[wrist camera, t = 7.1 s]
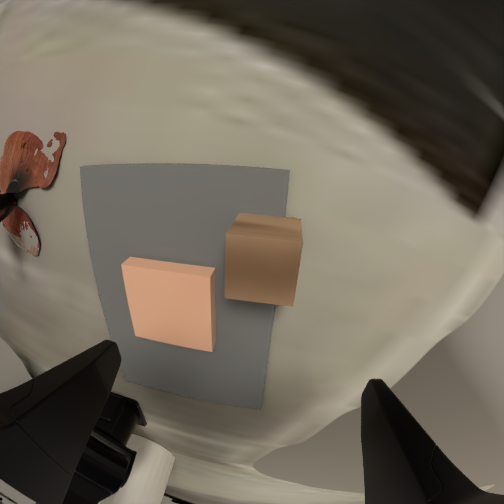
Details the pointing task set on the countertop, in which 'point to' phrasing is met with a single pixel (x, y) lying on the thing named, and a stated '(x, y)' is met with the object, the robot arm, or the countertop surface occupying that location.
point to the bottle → (145, 474)
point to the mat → (185, 252)
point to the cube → (263, 258)
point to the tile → (171, 302)
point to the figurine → (24, 178)
